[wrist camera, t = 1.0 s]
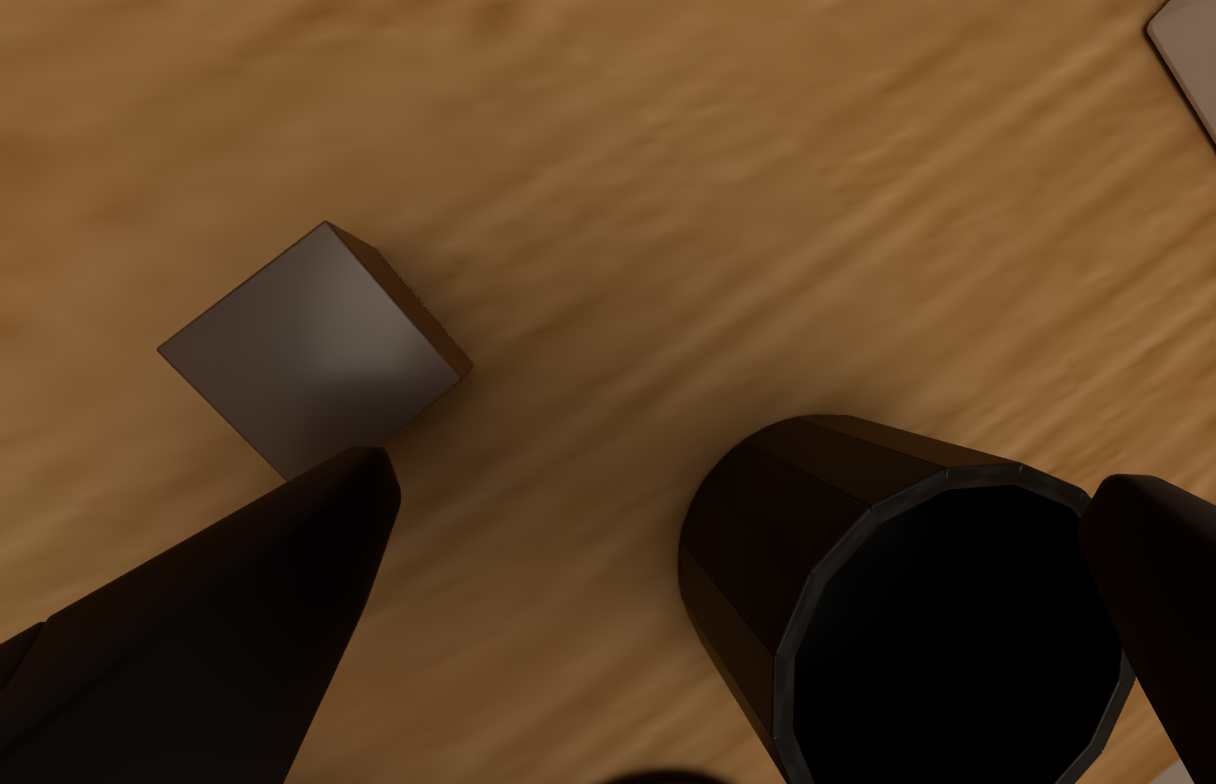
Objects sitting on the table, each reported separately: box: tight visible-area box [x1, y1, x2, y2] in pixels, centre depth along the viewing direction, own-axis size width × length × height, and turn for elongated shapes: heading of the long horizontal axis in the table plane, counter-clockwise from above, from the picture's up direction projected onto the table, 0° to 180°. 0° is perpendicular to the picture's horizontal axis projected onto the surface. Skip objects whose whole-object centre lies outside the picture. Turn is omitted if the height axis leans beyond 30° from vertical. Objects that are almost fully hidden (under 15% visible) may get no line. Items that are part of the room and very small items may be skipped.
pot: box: [678, 415, 1136, 784], centre depth 19 cm, size 11×11×8 cm
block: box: [156, 221, 473, 482], centre depth 16 cm, size 5×5×5 cm
